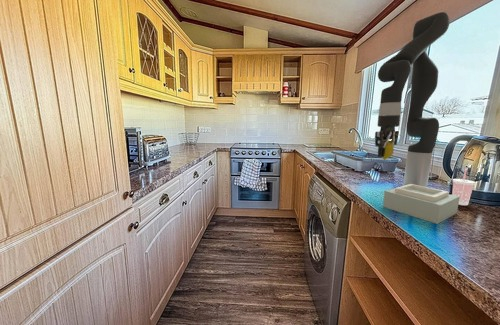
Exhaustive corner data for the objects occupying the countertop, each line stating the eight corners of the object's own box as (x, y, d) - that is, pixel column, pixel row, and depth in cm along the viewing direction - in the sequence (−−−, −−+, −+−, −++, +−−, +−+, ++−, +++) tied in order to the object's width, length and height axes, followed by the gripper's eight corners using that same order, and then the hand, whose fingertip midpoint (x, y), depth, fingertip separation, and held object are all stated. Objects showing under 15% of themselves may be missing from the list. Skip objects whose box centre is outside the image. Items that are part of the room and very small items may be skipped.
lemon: (387, 158, 92) (389, 140, 90) (395, 160, 86) (397, 141, 85) (374, 158, 92) (376, 140, 91) (380, 160, 87) (382, 141, 85)
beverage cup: (470, 203, 83) (477, 167, 80) (471, 207, 78) (478, 170, 76) (448, 199, 87) (454, 165, 84) (448, 203, 82) (455, 167, 80)
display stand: (404, 199, 86) (406, 181, 85) (456, 213, 73) (460, 192, 72) (382, 206, 78) (385, 187, 77) (437, 223, 65) (441, 200, 64)
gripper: (388, 115, 93) (384, 153, 96) (369, 114, 85) (366, 156, 88) (408, 114, 86) (403, 155, 89) (389, 114, 79) (385, 159, 82)
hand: (384, 156), depth 89 cm, fingers closed on lemon, 5 cm apart
